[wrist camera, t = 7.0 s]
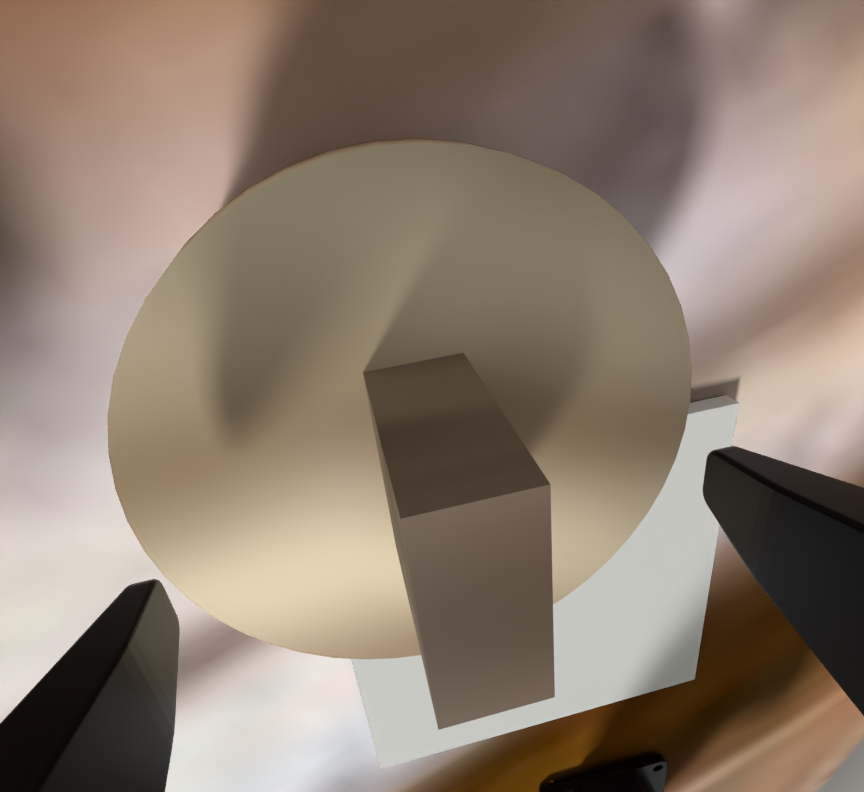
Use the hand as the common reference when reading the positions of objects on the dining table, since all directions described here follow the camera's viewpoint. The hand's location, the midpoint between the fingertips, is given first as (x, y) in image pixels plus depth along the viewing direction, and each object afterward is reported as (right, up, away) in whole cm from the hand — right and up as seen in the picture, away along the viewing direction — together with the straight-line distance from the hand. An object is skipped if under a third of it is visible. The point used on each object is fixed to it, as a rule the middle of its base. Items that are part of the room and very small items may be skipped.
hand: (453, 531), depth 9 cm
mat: (+4, -5, +13) cm, 14 cm away
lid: (-1, +2, +3) cm, 3 cm away
